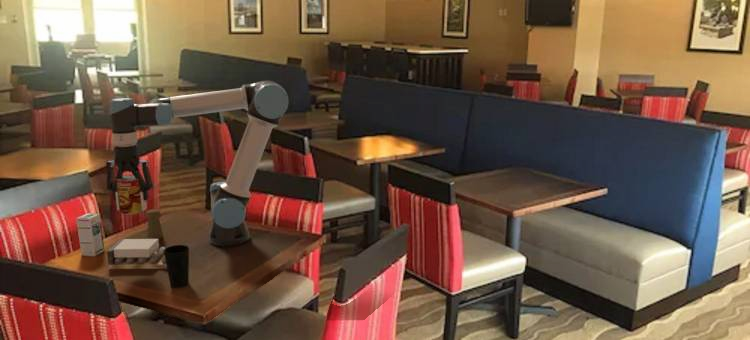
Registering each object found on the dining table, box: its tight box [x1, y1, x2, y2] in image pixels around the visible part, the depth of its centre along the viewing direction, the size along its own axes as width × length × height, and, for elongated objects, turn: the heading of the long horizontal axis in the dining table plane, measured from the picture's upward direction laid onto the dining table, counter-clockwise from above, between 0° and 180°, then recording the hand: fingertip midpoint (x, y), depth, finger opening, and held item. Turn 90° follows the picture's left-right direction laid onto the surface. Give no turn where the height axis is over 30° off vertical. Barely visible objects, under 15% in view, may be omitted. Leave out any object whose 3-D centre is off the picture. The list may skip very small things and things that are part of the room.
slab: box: [113, 238, 160, 258], centre depth 215 cm, size 12×10×3 cm
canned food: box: [117, 174, 145, 215], centre depth 211 cm, size 8×8×12 cm
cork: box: [145, 209, 164, 240], centre depth 240 cm, size 6×6×11 cm
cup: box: [164, 244, 190, 289], centre depth 196 cm, size 8×8×12 cm
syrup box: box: [75, 212, 105, 257], centre depth 223 cm, size 6×6×14 cm
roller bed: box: [106, 238, 167, 270], centre depth 215 cm, size 22×12×6 cm, turn 91°
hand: (132, 209), depth 212 cm, fingers closed on canned food, 8 cm apart
